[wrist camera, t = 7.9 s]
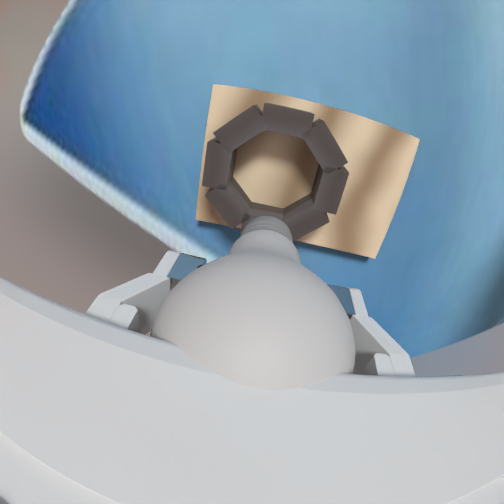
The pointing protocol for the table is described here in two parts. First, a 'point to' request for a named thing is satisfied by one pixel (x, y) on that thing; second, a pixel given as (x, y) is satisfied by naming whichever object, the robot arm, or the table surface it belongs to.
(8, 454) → the robot arm
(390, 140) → the socket board
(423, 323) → the table surface
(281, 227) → the lightbulb
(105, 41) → the table surface
